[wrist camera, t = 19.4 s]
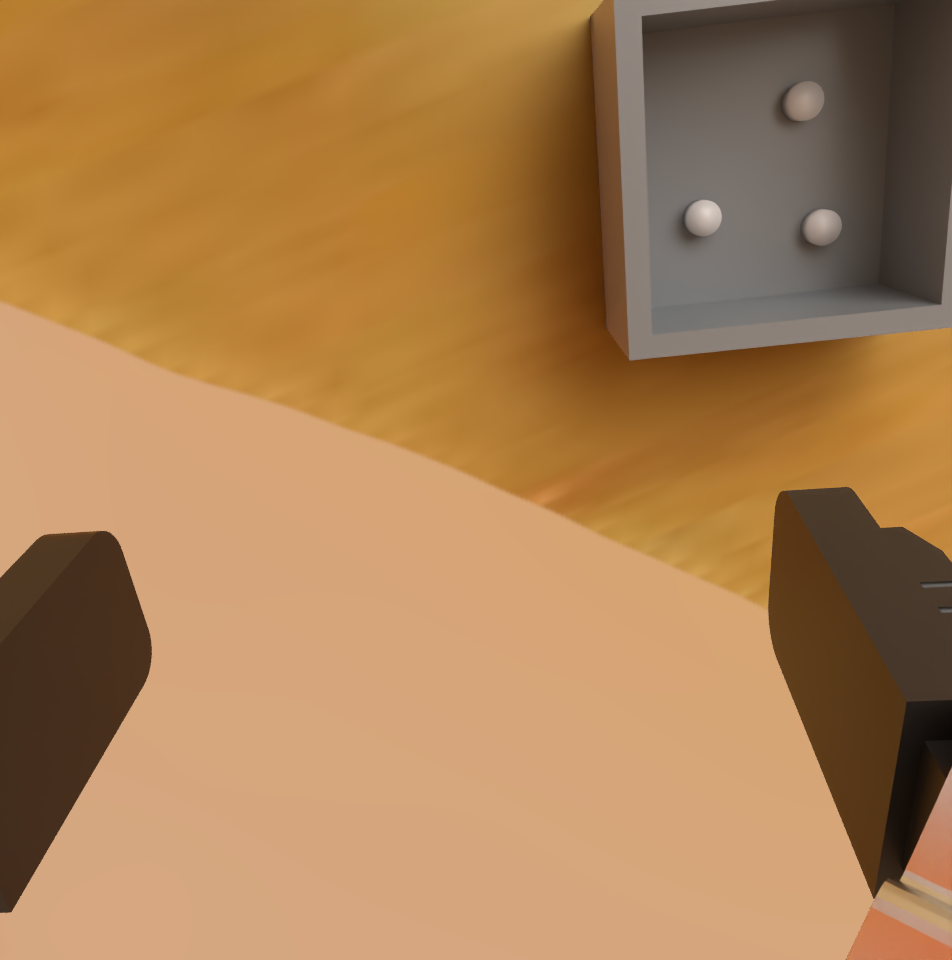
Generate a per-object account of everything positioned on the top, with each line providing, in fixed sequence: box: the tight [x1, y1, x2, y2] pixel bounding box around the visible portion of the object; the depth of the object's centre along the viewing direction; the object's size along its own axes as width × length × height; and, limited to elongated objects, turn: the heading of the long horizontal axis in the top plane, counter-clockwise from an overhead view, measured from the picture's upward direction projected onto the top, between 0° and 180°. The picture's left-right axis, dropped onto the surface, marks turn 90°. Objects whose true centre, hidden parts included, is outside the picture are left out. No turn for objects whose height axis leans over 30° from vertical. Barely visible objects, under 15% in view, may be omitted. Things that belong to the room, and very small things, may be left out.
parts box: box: [590, 0, 952, 361], centre depth 37 cm, size 14×14×7 cm
